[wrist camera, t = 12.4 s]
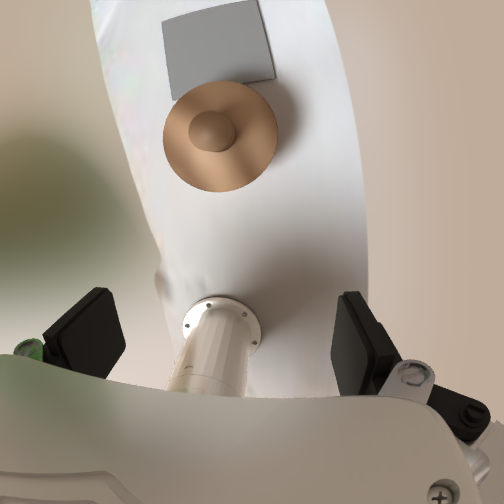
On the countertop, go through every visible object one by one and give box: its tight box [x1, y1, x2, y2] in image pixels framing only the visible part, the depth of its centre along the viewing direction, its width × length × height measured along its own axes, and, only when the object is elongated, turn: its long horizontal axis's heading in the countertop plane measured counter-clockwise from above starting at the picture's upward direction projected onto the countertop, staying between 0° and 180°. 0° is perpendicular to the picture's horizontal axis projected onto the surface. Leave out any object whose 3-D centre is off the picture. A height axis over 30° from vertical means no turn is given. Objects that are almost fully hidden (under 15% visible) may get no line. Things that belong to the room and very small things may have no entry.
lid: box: [163, 81, 278, 192], centre depth 27 cm, size 13×13×6 cm
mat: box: [162, 0, 275, 101], centre depth 30 cm, size 14×14×1 cm
